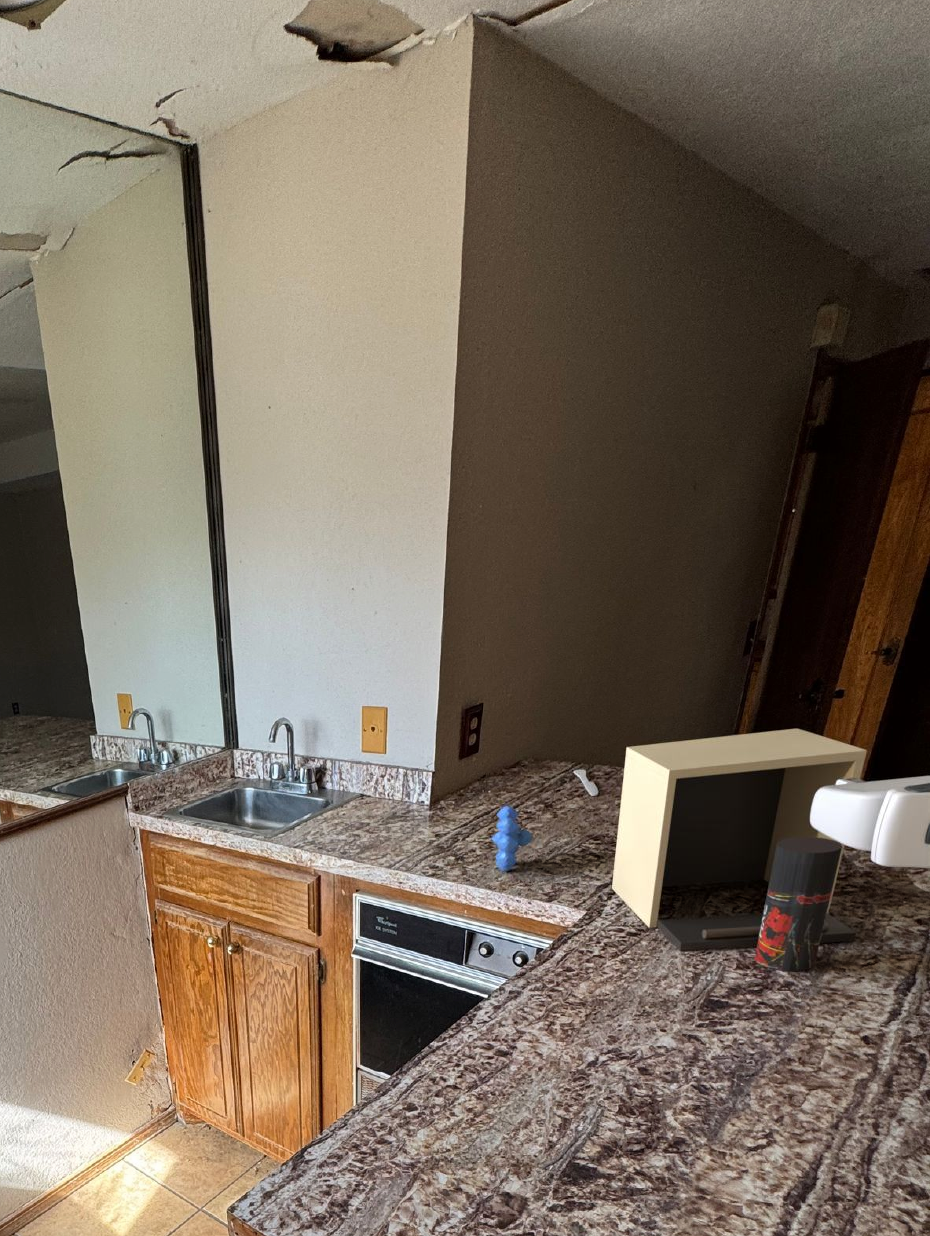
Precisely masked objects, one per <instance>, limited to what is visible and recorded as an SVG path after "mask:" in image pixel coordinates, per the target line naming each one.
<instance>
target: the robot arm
mask: <svg viewBox="0 0 930 1236" xmlns="http://www.w3.org/2000/svg"><path fill="white" fill-rule="evenodd" d="M810 823H811V825H812V827H813V828H815V829H816V830H818V831H819V832H821V833H823V834H824V835H826V836H828V837H830V838H832V839H834V840H836V841H838V842H840V843H842V844H844V846H846V847H849V848H853V849H854V850H859V851H865V852H870V860H871V862H873V863H874V864H876V865H879V866H882V867H888V868H906V869H927V870H930V775H923V776H921V775H920V776H911V777H903V778H893V779H882V780H871V781H865V780H863V779H861V778H860V779H858V778H850V779H839V780H837V782H836V785H829V786H824V787H821V788H820V789H819V790H818V791H817V792H816V794H815V796H814V799H813V803H812V807H811V813H810Z"/></svg>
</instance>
